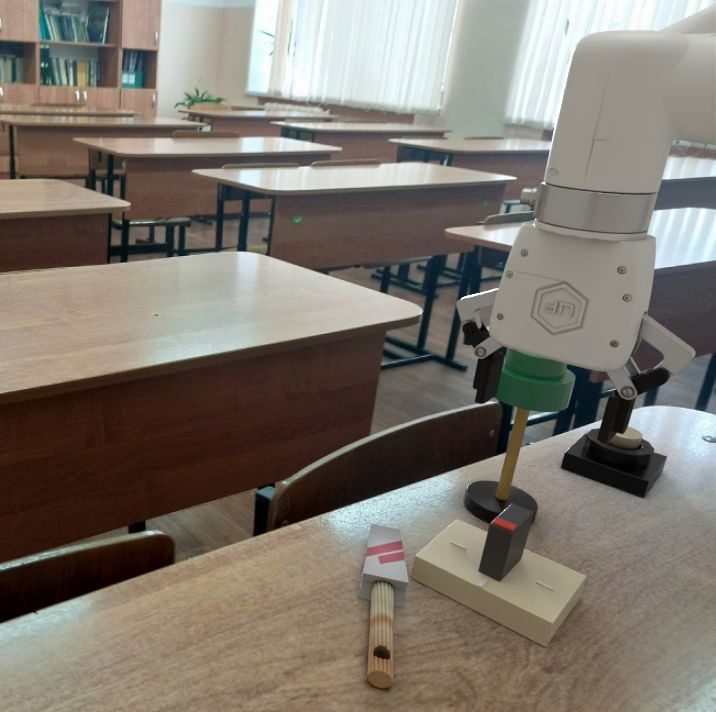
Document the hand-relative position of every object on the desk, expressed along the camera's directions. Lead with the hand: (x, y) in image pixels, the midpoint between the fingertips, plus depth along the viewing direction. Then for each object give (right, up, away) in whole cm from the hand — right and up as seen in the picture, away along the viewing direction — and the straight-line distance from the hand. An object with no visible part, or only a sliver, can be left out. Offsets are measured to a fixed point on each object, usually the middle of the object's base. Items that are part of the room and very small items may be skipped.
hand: (543, 417), depth 61 cm
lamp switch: (+23, -9, +29) cm, 38 cm away
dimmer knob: (-1, -14, +5) cm, 15 cm away
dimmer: (-1, -16, +6) cm, 17 cm away
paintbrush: (-13, -17, +3) cm, 21 cm away
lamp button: (+23, -5, +27) cm, 36 cm away
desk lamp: (+5, -12, +19) cm, 23 cm away
